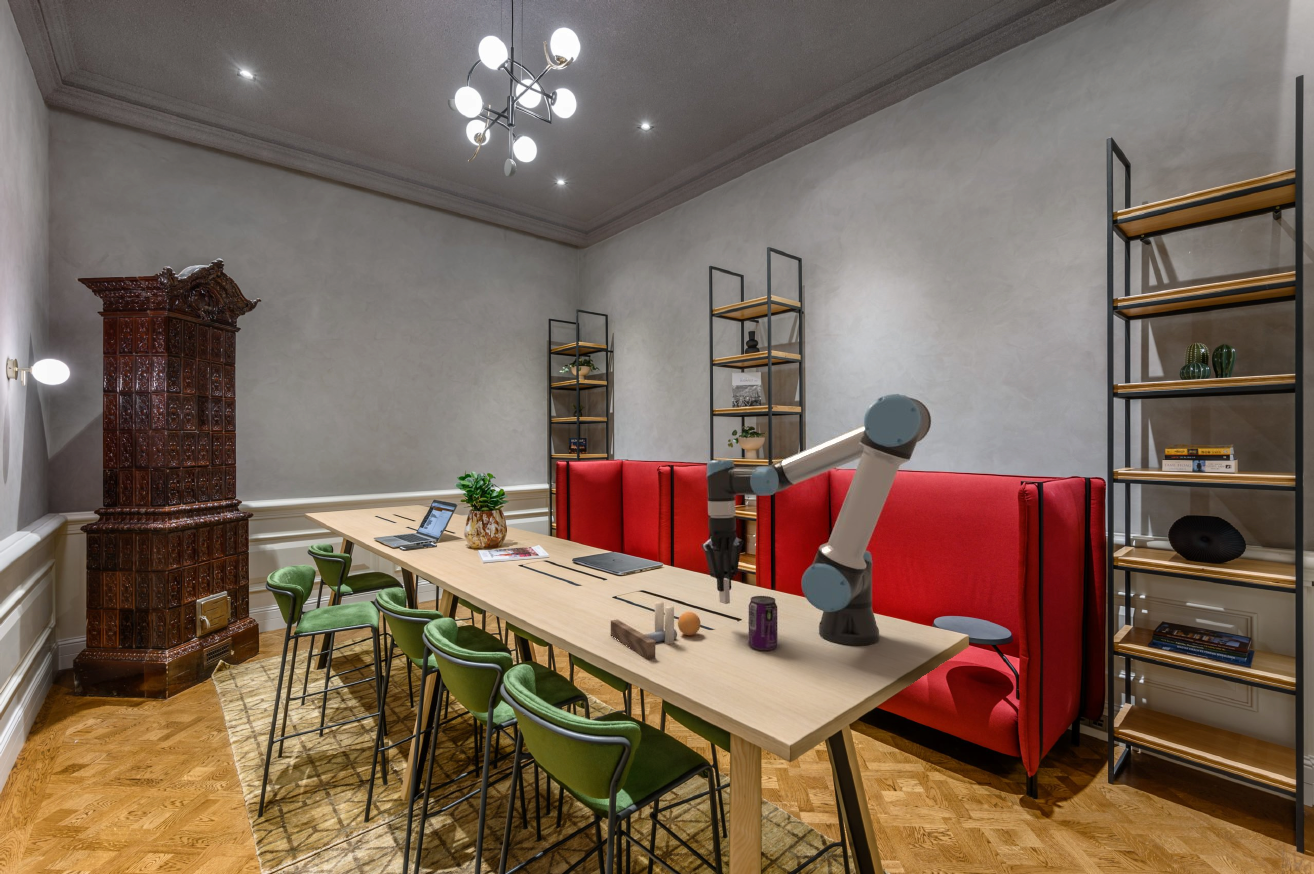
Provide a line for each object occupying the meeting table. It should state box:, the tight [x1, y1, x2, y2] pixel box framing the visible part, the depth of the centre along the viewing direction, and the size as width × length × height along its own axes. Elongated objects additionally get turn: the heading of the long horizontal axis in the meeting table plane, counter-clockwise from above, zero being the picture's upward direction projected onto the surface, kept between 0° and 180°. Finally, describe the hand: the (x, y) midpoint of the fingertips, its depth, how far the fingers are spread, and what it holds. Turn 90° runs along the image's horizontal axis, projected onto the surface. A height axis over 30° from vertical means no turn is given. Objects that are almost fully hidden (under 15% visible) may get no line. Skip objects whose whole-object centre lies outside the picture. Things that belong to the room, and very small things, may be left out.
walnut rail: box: [610, 618, 656, 661], centre depth 148 cm, size 20×2×4 cm, turn 30°
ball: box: [677, 611, 701, 636], centre depth 157 cm, size 6×6×6 cm
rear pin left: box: [664, 605, 675, 645], centre depth 150 cm, size 2×2×9 cm
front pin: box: [644, 628, 678, 643], centre depth 152 cm, size 2×2×9 cm
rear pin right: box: [654, 601, 665, 633], centre depth 155 cm, size 2×2×9 cm
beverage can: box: [748, 595, 779, 651], centre depth 147 cm, size 7×7×12 cm
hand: (724, 602), depth 161 cm, fingers closed
